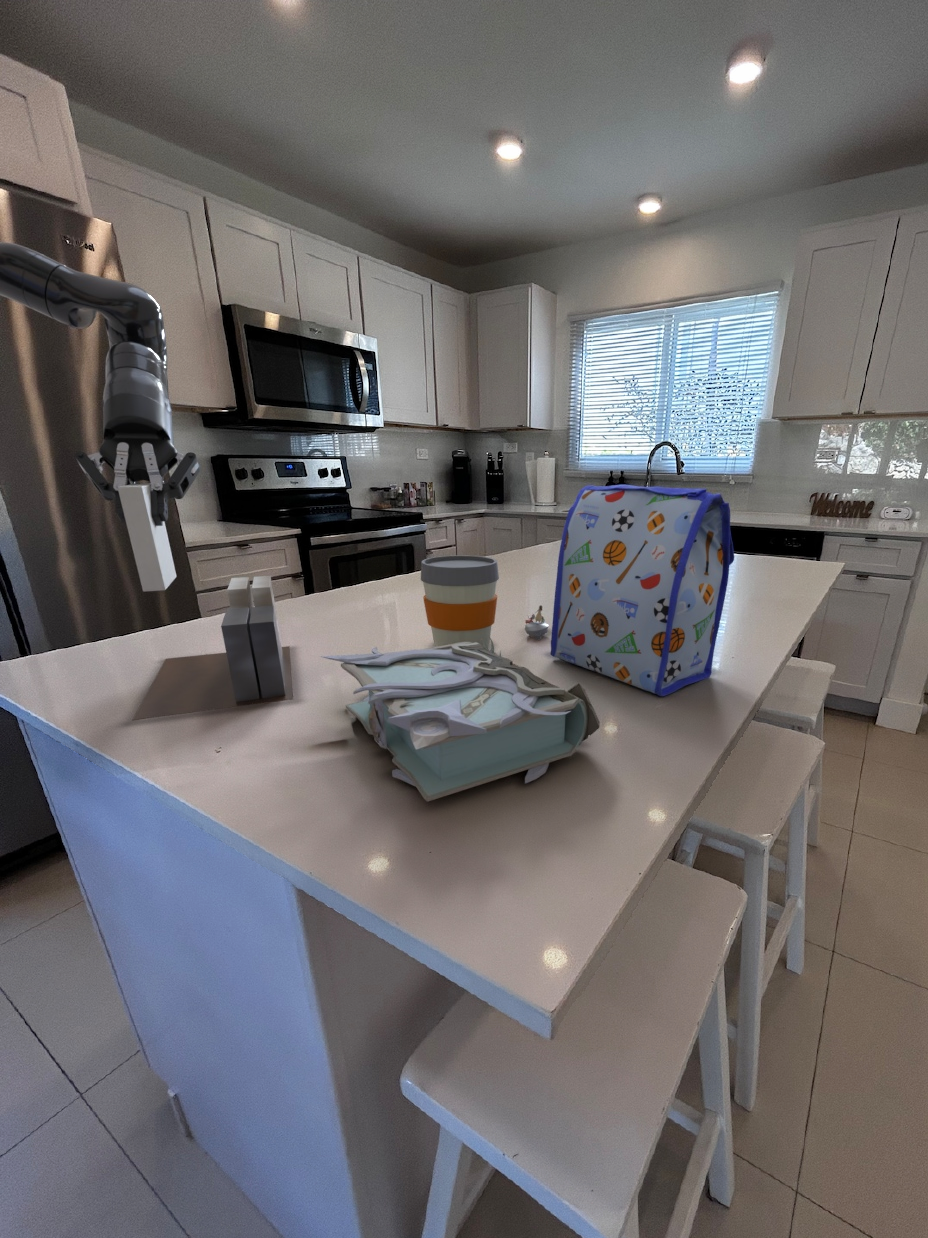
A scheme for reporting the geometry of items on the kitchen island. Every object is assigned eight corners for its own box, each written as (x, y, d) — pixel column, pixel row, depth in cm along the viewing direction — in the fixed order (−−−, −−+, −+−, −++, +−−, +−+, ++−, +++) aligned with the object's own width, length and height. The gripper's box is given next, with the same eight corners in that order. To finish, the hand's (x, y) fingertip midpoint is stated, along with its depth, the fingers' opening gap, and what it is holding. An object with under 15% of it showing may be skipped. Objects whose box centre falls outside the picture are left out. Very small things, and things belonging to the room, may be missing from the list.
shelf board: (134, 729, 67) (104, 621, 62) (167, 665, 88) (147, 581, 83) (295, 707, 73) (279, 607, 68) (290, 653, 94) (278, 573, 89)
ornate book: (609, 769, 61) (475, 676, 84) (618, 687, 57) (474, 613, 80) (414, 838, 49) (320, 708, 72) (408, 742, 46) (311, 637, 69)
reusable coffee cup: (409, 653, 94) (402, 562, 88) (456, 636, 104) (453, 552, 98) (468, 668, 87) (466, 570, 82) (513, 647, 97) (514, 559, 92)
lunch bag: (726, 673, 86) (755, 486, 76) (666, 702, 75) (690, 490, 65) (607, 640, 101) (617, 482, 91) (543, 661, 91) (547, 484, 81)
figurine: (539, 642, 100) (540, 609, 98) (518, 638, 102) (518, 606, 100) (553, 635, 104) (554, 603, 102) (533, 631, 106) (533, 600, 104)
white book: (142, 591, 68) (117, 486, 64) (156, 578, 76) (134, 483, 72) (165, 590, 69) (141, 486, 65) (176, 576, 77) (156, 483, 72)
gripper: (204, 439, 79) (213, 539, 74) (87, 437, 75) (86, 544, 69) (191, 393, 73) (200, 499, 67) (62, 388, 68) (58, 501, 62)
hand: (142, 521), depth 68 cm, fingers closed on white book, 2 cm apart
